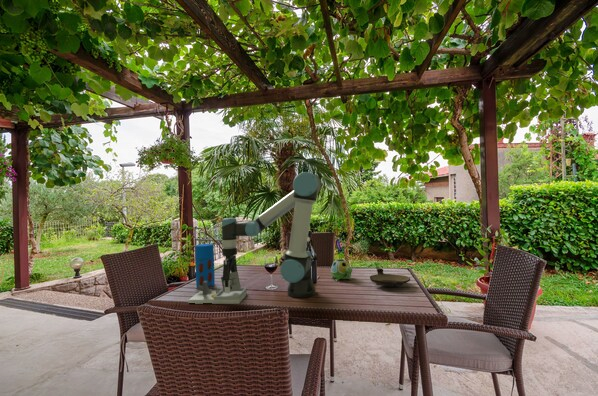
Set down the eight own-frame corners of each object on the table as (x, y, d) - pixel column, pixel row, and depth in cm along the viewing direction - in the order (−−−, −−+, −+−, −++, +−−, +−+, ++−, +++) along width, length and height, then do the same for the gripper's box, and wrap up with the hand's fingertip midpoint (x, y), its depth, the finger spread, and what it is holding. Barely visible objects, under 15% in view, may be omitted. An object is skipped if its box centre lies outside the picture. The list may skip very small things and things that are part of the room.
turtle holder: (341, 284, 175) (341, 264, 176) (327, 277, 192) (327, 259, 192) (359, 281, 180) (358, 262, 180) (344, 275, 197) (343, 257, 197)
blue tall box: (218, 285, 182) (216, 244, 182) (202, 289, 174) (200, 246, 174) (208, 282, 189) (207, 243, 190) (192, 286, 182) (191, 245, 182)
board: (246, 294, 163) (246, 287, 163) (239, 303, 148) (239, 296, 148) (200, 294, 165) (200, 288, 165) (188, 303, 150) (188, 296, 150)
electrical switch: (227, 293, 151) (225, 275, 151) (220, 292, 154) (219, 274, 155) (241, 289, 158) (239, 271, 159) (235, 288, 161) (233, 271, 162)
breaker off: (212, 289, 162) (199, 285, 162) (210, 291, 159) (197, 286, 159) (211, 292, 162) (198, 287, 162) (209, 293, 159) (196, 289, 159)
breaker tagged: (207, 295, 155) (207, 280, 155) (205, 297, 152) (205, 282, 152) (205, 295, 155) (204, 280, 155) (202, 297, 152) (202, 282, 152)
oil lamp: (369, 291, 161) (369, 277, 161) (369, 277, 190) (369, 265, 190) (413, 293, 156) (412, 278, 156) (406, 278, 185) (406, 265, 185)
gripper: (229, 244, 168) (230, 283, 168) (214, 251, 145) (216, 296, 145) (242, 244, 167) (243, 283, 167) (229, 251, 145) (231, 296, 144)
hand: (230, 289), depth 156 cm, fingers closed on electrical switch, 10 cm apart
